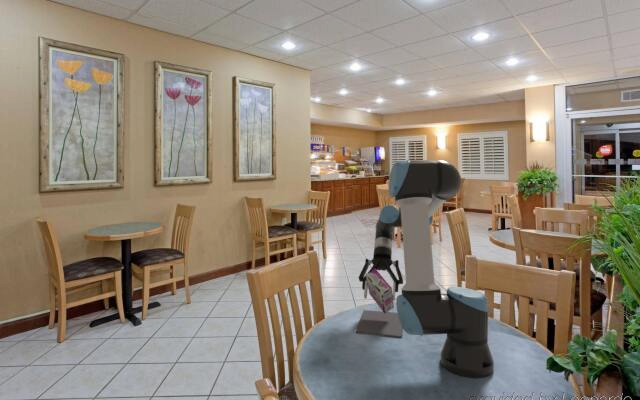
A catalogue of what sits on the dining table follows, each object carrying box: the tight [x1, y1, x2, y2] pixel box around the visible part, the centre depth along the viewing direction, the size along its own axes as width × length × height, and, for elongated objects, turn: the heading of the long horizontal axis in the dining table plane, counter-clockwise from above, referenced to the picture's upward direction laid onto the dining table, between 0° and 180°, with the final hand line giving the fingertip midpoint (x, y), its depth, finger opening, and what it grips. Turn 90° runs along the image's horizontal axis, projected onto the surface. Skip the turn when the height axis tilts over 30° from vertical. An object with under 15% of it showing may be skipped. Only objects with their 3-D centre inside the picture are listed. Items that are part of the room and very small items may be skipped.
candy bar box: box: [365, 269, 395, 313], centre depth 144 cm, size 11×5×16 cm
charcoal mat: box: [355, 309, 404, 339], centre depth 143 cm, size 17×22×1 cm
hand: (379, 298), depth 142 cm, fingers closed on candy bar box, 10 cm apart
